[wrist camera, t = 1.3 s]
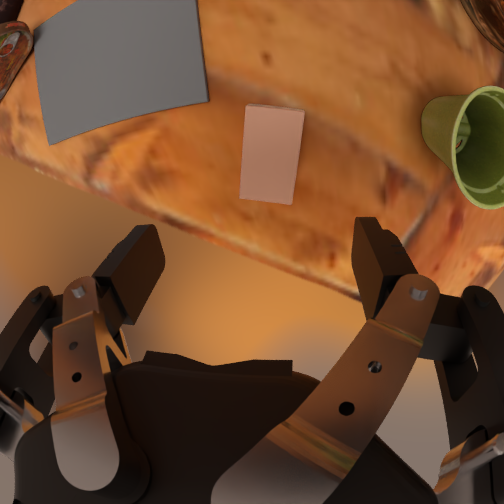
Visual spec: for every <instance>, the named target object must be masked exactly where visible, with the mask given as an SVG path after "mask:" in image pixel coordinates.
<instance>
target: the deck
mask: <svg viewBox="0 0 504 504" xmlns="http://www.w3.org/2000/svg"><path fill="white" fill-rule="evenodd" d="M304 114H305V112H304V111H303V109H296V108H288V107H280V106H271V105H261V104H248V105H246V109H245V123H244V136H243V150H242V164H241V179H240V195H239V198H240V199H249V200H257V201H265V202H273V203H281V204H288V205H292V199H293V193H294V186H295V179H296V173H297V166H298V159H299V152H300V145H301V137H302V130H303V122H304Z"/></svg>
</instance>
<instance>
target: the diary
mask: <svg viewBox="0 0 504 504" xmlns="http://www.w3.org/2000/svg"><path fill="white" fill-rule="evenodd" d="M22 3H23V0H0V24H2V23H6V22H10V21H16V19H17V16H18V13H19V10H20V8H21V5H22Z"/></svg>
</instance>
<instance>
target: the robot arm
mask: <svg viewBox="0 0 504 504" xmlns="http://www.w3.org/2000/svg"><path fill="white" fill-rule="evenodd" d="M351 260H352V268H353V272H354V275H355V279H356V282H357V286H358V289H359V293H360V297H361V301H362V305H363V309H364V313H365V317H366V320H367V322H366V323H365V325H364V326H363V327H362V329H361V331H360V332H359V333H358V335H357V336H356V337H355V339H354V340H353V341H352V343H351V344H350V346H349V347H348V348H347V350H346V351H345V352H344V354H343V355H342V356H341V357H340V359H339V360H338V361H337V363H336V364H335V365H334V366H333V368H332V369H331V370H330V371H329V373H328V374H327V375H326V376H325V378H324V379H323V380H322V381H319V380H317V379H315V378H313V377H311V376H308V375H305V374H302V373H299V372H294V371H292V362H293V361H292V360H249V361H242V362H236V363H230V364H224V365H217V366H211V365H207V364H204V363H201V362H198V361H195V360H192V359H190V358H187V357H184V356H181V355H178V354H169V353H161V352H154V351H146V354H145V356H144V359H143V361H139V362H133V363H132V361H131V358H130V355H129V352H128V348H127V345H126V341H125V338H124V334H123V332H122V330H121V328H120V327H121V325H122V324H128V325H135V323H136V321H137V319H138V317H139V315H140V313H141V311H142V309H143V307H144V305H145V303H146V301H147V300H148V297H149V296H150V294H151V292H152V290H153V288H154V287H155V285H156V283H157V281H158V279H159V277H160V276H161V274H162V272H163V270H164V267H165V255H164V252H163V249H162V246H161V242H160V239H159V235H158V232H157V229H156V227H155V226H154V225H153V224H148V225H137V226H135V227H134V229H133V230H132V231H131V232H130V233H129V234H128V235H127V237H126V238H125V239H124V240H122V241H121V242H120V243H118V244H117V245H116V246H115V247H114V249H113V250H112V252H111V253H109V255H108V256H107V259H105V260H104V261H103V262H102V263H101V265H100V266H99V267H98V268H97V270H96V271H95V272H94V273H93V275H92V276H91V277H90V276H85V277H81V278H78V279H76V280H74V281H73V282H71V283H70V284H69V285H68V286H67V287H66V289H65V291H64V293H63V294H61V295H57V296H53V294H52V292H51V290H50V289H49V287H48V286H40V287H38V288H36V289H34V290H33V291H32V292H31V293H29V294H28V296H27V297H26V298H25V300H24V301H23V302H22V304H21V305H20V306H19V308H18V309H17V310H16V312H15V313H14V315H13V316H12V318H11V319H10V320H9V322H8V324H7V325H6V326H5V328H4V330H3V331H2V332H1V334H0V454H2V455H3V456H6V457H8V458H9V459H10V460H12V461H13V462H14V469H15V470H14V471H15V493H14V494H15V495H14V501H13V504H504V313H503V311H502V309H501V307H500V305H499V304H498V302H497V300H496V298H495V297H494V296H493V295H492V293H491V292H489V291H488V290H487V289H485V288H483V287H480V286H474V285H473V286H468V287H466V288H465V289H464V291H463V293H462V296H461V298H460V297H455V296H450V295H444V294H441V293H440V291H439V288H438V286H437V285H436V284H435V283H434V282H433V281H432V280H431V279H429V278H427V277H425V276H423V275H419V274H418V272H417V270H416V269H415V267H414V265H413V263H412V261H411V259H410V258H409V256H408V254H407V253H406V251H405V249H404V247H403V246H402V244H401V242H400V240H399V239H398V237H397V236H396V235H395V234H393V233H392V232H391V231H389V230H383V229H382V228H381V226H380V224H379V222H378V221H377V219H376V217H356V219H355V224H354V235H353V244H352V254H351ZM39 329H40V330H41V331H42V333H43V334H44V335H45V337H46V338H47V340H48V341H49V342H48V344H47V346H46V348H45V350H44V351H43V354H42V355H41V357H40V359H39V361H38V363H36V362H35V361H34V360H33V359H32V358H31V356H30V353H29V346H30V343H31V342H32V340H33V339H34V337H35V335H36V334H37V332H38V331H39ZM472 352H473V354H474V356H475V359H476V362H477V365H478V371H477V368H476V365H475V362H474V359H473V356H472ZM417 357H418V358H424V359H430V360H434V364H435V368H436V372H437V376H438V380H439V385H440V389H441V393H442V399H443V404H444V409H445V415H446V421H447V428H448V435H449V443H450V451H449V452H448V453H447V454H446V455H445V457H444V458H443V460H442V463H441V466H440V472H439V479H438V482H437V484H436V486H435V488H434V489H432V488H431V487H430V486H429V484H427V482H426V481H425V480H423V479H422V478H421V477H420V476H419V475H418V474H417V473H416V472H415V471H414V470H413V469H412V468H411V467H410V466H408V465H407V464H406V463H405V462H404V461H403V460H402V459H401V458H400V457H399V456H398V455H397V454H396V453H395V452H394V451H393V450H392V449H391V448H390V447H389V446H388V445H387V444H386V443H385V442H384V441H382V439H380V437H378V435H377V434H376V432H377V430H378V428H379V427H380V425H381V424H382V422H383V420H384V419H385V417H386V415H387V414H388V412H389V411H390V409H391V407H392V405H393V404H394V402H395V400H396V398H397V396H398V395H399V393H400V391H401V389H402V387H403V385H404V383H405V381H406V379H407V377H408V375H409V373H410V371H411V369H412V367H413V365H414V363H415V361H416V359H417ZM54 400H55V403H56V411H55V412H54V413H52V414H51V415H49V416H48V414H49V412H50V410H51V407H52V405H53V402H54Z"/></svg>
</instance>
